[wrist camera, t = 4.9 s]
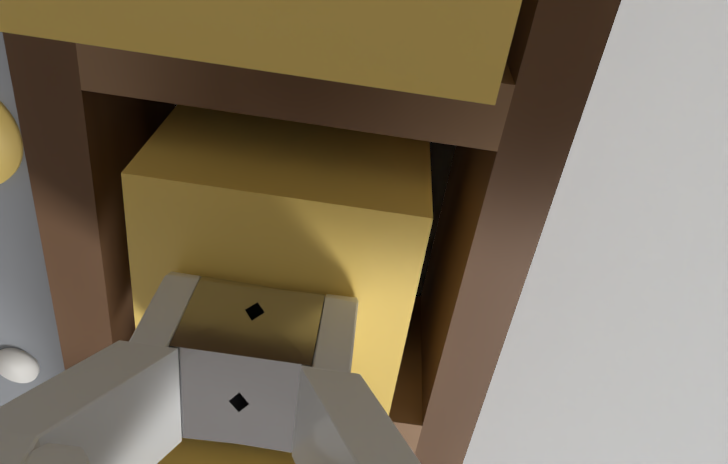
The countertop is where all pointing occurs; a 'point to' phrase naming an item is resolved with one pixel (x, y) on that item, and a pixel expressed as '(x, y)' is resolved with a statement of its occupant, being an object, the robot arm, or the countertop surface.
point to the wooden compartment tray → (332, 109)
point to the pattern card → (21, 265)
